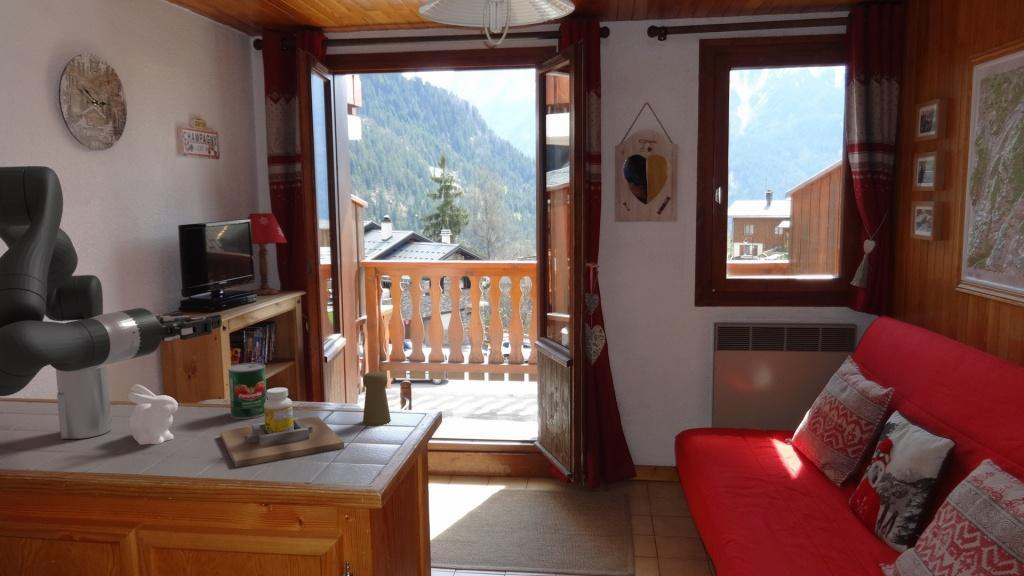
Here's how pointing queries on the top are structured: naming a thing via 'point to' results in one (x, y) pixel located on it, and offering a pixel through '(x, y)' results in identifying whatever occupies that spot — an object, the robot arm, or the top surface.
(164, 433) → the rabbit
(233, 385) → the canned tomato
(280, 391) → the supplement bottle
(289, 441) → the holder
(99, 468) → the top surface
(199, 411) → the top surface
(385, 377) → the cork
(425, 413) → the top surface
